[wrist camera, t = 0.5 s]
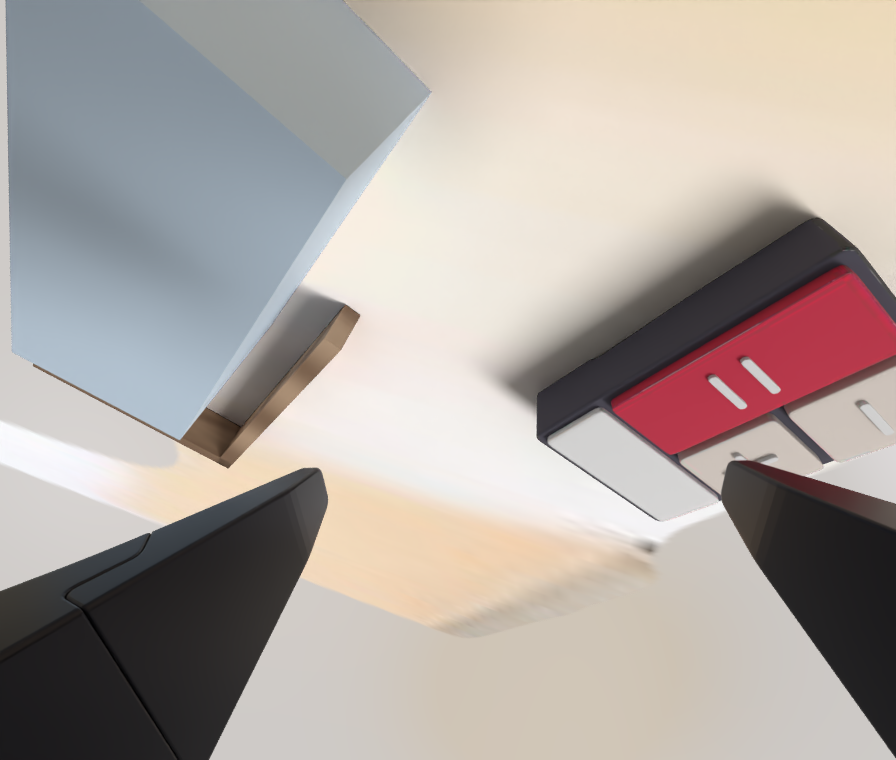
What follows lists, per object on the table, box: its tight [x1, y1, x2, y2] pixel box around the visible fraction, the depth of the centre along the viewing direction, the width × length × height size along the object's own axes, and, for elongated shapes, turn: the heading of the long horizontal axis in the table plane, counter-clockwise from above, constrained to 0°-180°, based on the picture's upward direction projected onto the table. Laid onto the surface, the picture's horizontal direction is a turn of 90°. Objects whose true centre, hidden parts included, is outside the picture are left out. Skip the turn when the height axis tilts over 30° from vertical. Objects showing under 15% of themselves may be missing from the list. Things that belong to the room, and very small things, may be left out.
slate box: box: [6, 0, 432, 440], centre depth 17 cm, size 16×7×9 cm, turn 140°
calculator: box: [537, 218, 896, 522], centre depth 22 cm, size 11×4×15 cm
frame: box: [33, 305, 360, 468], centre depth 26 cm, size 18×14×3 cm
